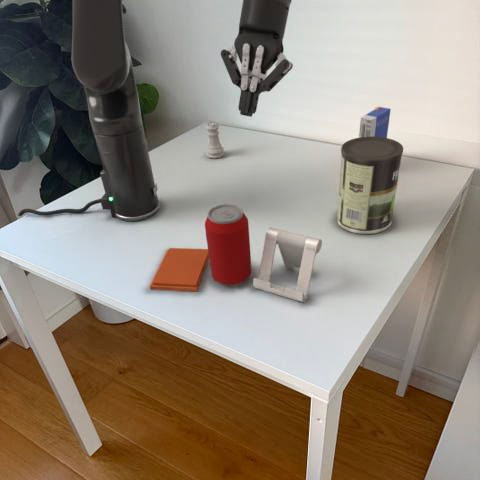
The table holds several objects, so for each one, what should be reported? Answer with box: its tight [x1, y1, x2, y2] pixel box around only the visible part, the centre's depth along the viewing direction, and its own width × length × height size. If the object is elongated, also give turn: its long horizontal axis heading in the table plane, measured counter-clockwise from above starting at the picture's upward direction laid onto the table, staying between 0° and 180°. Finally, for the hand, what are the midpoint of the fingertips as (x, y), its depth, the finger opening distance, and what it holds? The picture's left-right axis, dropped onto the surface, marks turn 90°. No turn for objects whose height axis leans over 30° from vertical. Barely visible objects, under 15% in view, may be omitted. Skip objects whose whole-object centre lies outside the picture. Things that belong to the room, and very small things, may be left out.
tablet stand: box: [252, 227, 323, 303], centre depth 75 cm, size 9×8×8 cm
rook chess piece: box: [205, 120, 225, 160], centre depth 116 cm, size 4×4×8 cm
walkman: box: [358, 106, 392, 138], centre depth 104 cm, size 8×3×12 cm, turn 138°
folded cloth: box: [149, 247, 210, 293], centre depth 83 cm, size 8×11×1 cm
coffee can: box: [336, 137, 404, 235], centre depth 87 cm, size 10×10×14 cm
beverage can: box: [204, 203, 252, 286], centre depth 77 cm, size 7×7×12 cm
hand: (246, 115), depth 84 cm, fingers closed
